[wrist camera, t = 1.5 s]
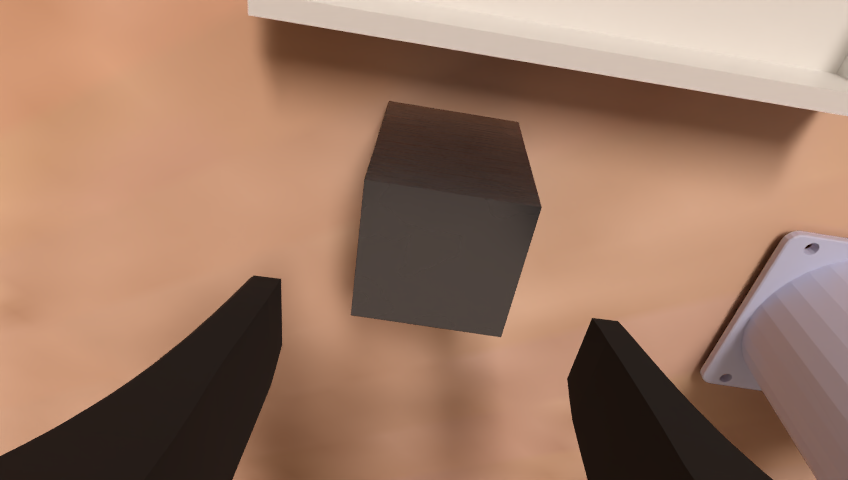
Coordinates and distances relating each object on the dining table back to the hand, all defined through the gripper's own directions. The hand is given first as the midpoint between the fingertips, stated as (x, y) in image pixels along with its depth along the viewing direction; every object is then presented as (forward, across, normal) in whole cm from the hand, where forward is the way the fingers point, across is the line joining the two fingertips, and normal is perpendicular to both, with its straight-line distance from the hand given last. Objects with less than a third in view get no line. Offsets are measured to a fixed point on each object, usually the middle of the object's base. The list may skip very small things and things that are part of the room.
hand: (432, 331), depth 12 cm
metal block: (+9, 0, 0) cm, 9 cm away
